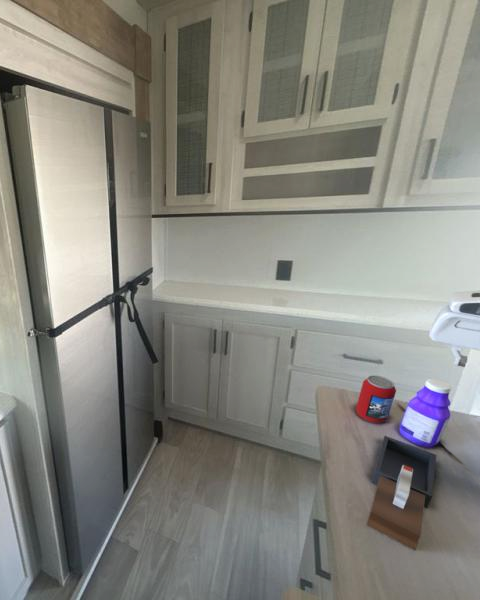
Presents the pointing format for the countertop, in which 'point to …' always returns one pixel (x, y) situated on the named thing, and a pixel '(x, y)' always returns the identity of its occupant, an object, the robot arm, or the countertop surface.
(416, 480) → the sink basin
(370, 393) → the beverage can
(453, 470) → the countertop surface
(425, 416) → the bottle
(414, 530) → the tap plinth
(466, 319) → the robot arm
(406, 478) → the white red-tipped brick
